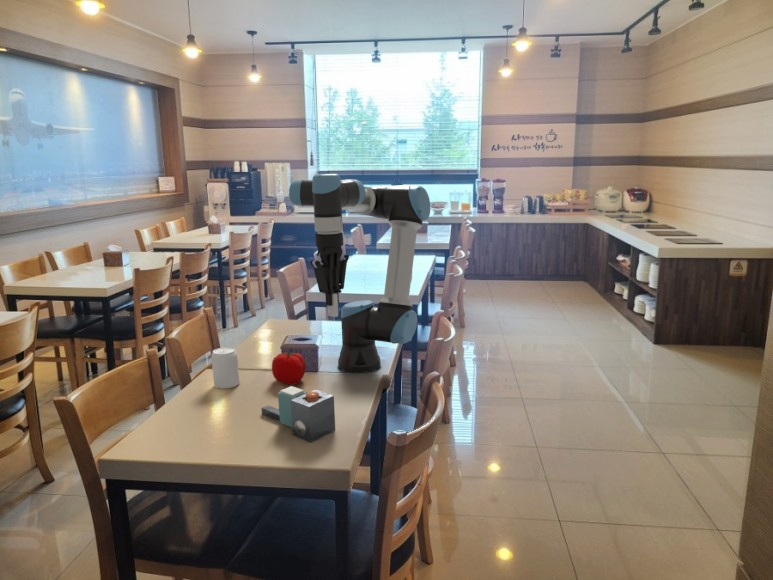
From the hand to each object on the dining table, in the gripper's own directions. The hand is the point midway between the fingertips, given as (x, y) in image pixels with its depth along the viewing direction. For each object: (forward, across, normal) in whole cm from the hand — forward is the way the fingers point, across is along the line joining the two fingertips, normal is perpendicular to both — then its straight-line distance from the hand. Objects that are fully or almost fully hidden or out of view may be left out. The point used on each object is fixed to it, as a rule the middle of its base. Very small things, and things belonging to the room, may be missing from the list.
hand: (333, 315), depth 157 cm
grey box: (+28, +14, +5) cm, 32 cm away
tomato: (+29, -7, -28) cm, 41 cm away
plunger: (+23, +14, +5) cm, 27 cm away
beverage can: (+29, +8, -43) cm, 52 cm away
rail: (+29, +14, -7) cm, 33 cm away
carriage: (+28, +14, -3) cm, 32 cm away
